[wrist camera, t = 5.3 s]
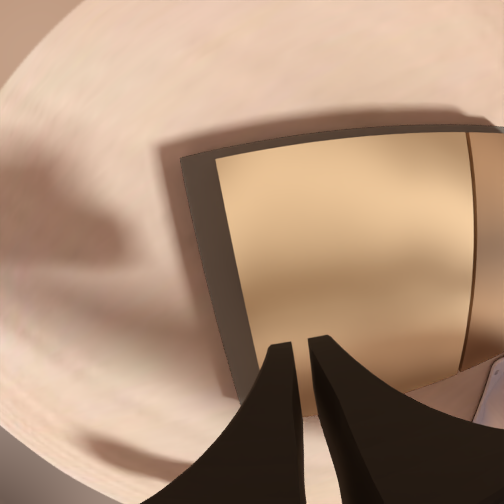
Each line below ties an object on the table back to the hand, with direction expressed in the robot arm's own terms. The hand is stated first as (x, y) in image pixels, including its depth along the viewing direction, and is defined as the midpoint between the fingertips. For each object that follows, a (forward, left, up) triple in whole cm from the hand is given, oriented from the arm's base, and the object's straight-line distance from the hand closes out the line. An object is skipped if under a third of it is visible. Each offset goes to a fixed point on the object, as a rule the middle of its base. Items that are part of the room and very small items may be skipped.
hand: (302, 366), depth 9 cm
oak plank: (0, -4, -5) cm, 6 cm away
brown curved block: (0, -12, -6) cm, 13 cm away
